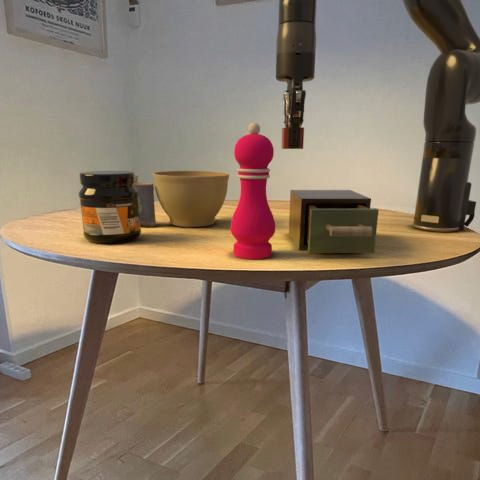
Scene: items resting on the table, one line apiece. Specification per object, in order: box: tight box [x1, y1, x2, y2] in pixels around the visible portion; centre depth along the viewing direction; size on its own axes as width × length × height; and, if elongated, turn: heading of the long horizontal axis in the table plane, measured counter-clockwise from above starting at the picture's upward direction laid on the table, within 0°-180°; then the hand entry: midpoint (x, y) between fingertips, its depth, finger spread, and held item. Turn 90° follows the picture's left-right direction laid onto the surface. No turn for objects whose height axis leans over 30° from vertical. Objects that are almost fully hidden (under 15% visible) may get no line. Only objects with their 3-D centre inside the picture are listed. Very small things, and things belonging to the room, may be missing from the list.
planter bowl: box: [152, 170, 230, 228], centre depth 101 cm, size 16×16×11 cm
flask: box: [134, 173, 157, 228], centre depth 100 cm, size 9×3×11 cm, turn 61°
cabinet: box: [288, 189, 372, 251], centre depth 85 cm, size 14×12×9 cm
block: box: [281, 127, 305, 150], centre depth 95 cm, size 4×4×4 cm
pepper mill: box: [229, 122, 276, 260], centre depth 73 cm, size 7×7×20 cm
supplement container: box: [78, 170, 142, 245], centre depth 86 cm, size 10×10×12 cm
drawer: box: [304, 203, 380, 254], centre depth 76 cm, size 17×10×7 cm, turn 2°
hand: (292, 147), depth 96 cm, fingers closed on block, 4 cm apart
